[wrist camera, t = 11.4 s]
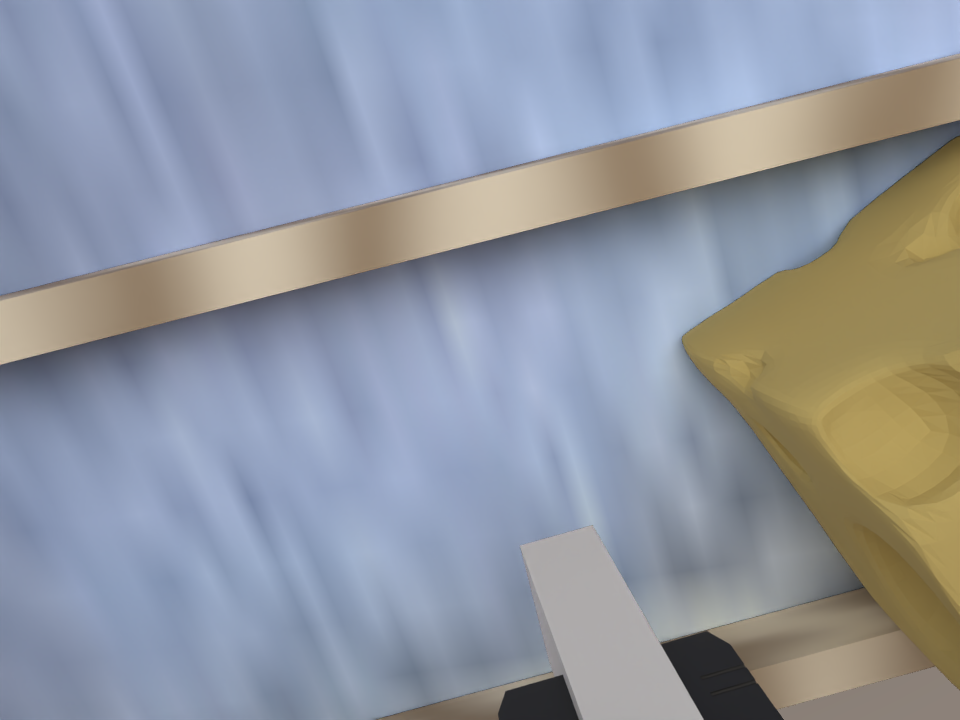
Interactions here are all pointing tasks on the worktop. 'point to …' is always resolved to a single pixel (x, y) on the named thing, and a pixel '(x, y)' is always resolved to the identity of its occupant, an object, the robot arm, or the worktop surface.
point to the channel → (512, 209)
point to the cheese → (867, 395)
